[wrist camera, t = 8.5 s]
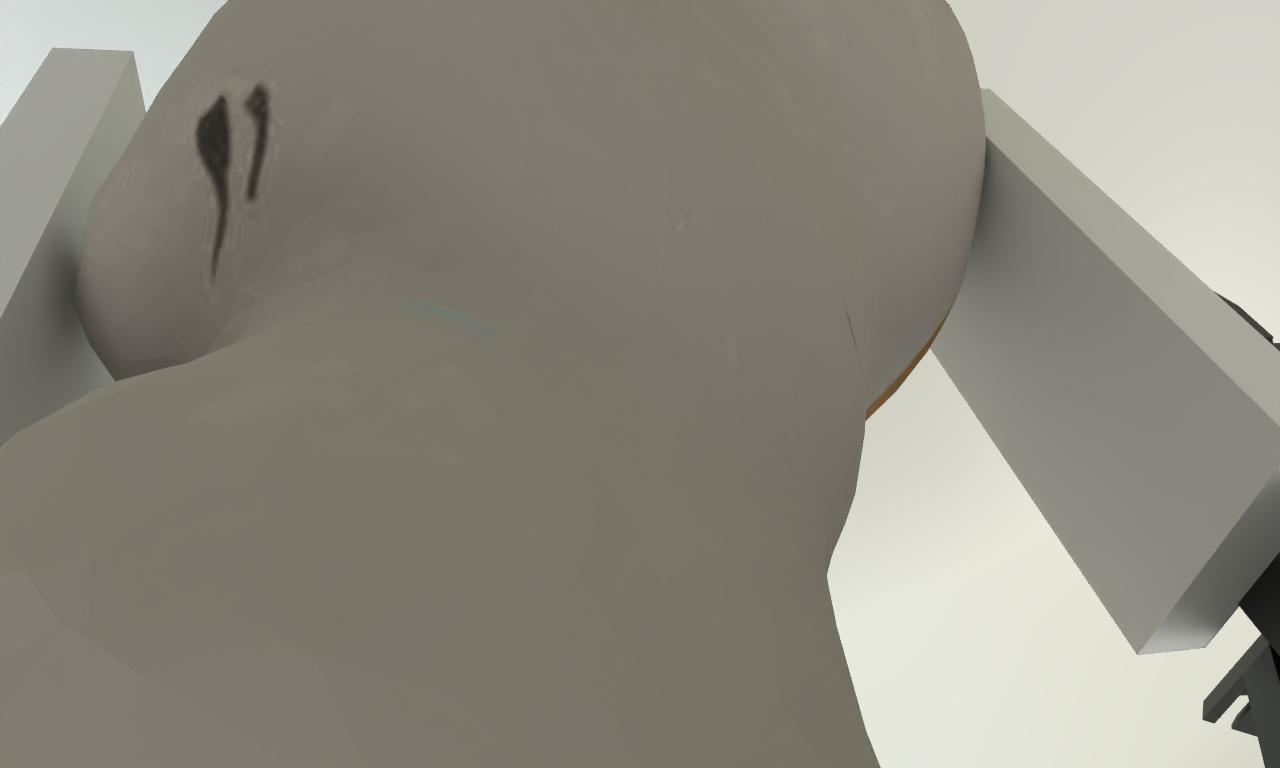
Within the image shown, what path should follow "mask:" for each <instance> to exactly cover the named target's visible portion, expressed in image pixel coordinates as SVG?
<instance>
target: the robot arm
mask: <svg viewBox="0 0 1280 768" xmlns="http://www.w3.org/2000/svg"><path fill="white" fill-rule="evenodd" d="M980 91H981V97H982V104H983V111H984V117H985V136H986V155H985V173H984V179H983V186H982V192H981V198H980V205H979V211H978V217H977V222H976V227H975V232H974V237H973V243H972V248H971V252H970V256H969V260H968V264H967V268H966V271H965V275H964V279H963V283H962V286H961V288H960V291H959V293H958V295H957V297H956V299H955V302H954V304H953V306H952V308H951V310H950V313H949V315H948V317H947V318H946V320H945V322H944V324H943V326H942V328H941V330H940V331H939V333H938V335H937V336H936V338H935V340H934V341H933V343H932V345H931V346H930V349H931V350H932V351H933V353H934V355H935V356H936V357H937V359H938V360H939V362H940V363H941V365H942V366H943V368H944V369H945V371H946V372H947V374H948V375H949V377H950V378H951V380H952V381H953V382H954V384H955V386H956V387H957V388H958V390H959V392H960V393H961V395H962V396H963V397H964V399H965V400H966V402H967V403H968V405H969V406H970V408H971V409H972V411H973V412H974V414H975V415H976V417H977V418H978V420H979V421H980V423H981V424H982V426H983V427H984V429H985V430H986V432H987V433H988V434H989V436H990V437H991V439H992V440H993V442H994V443H995V445H996V446H997V448H998V449H999V451H1000V452H1001V454H1002V455H1003V457H1004V458H1005V460H1006V461H1007V463H1008V464H1009V465H1010V467H1011V469H1012V470H1013V472H1014V473H1015V474H1016V476H1017V477H1018V479H1019V480H1020V482H1021V483H1022V485H1023V486H1024V488H1025V489H1026V491H1027V492H1028V494H1029V495H1030V497H1031V498H1032V500H1033V501H1034V503H1035V504H1036V506H1037V507H1038V509H1039V510H1040V512H1041V513H1042V515H1043V516H1044V517H1045V519H1046V520H1047V522H1048V523H1049V525H1050V526H1051V528H1052V529H1053V531H1054V532H1055V534H1056V535H1057V537H1058V538H1059V540H1060V541H1061V543H1062V544H1063V546H1064V547H1065V549H1066V550H1067V552H1068V553H1069V555H1070V556H1071V557H1072V559H1073V560H1074V562H1075V563H1076V565H1077V566H1078V568H1079V569H1080V571H1081V572H1082V574H1083V575H1084V577H1085V578H1086V580H1087V581H1088V583H1089V584H1090V586H1091V587H1092V589H1093V590H1094V592H1095V593H1096V595H1097V596H1098V597H1099V599H1100V600H1101V602H1102V603H1103V605H1104V606H1105V608H1106V609H1107V611H1108V612H1109V614H1110V615H1111V617H1112V618H1113V620H1114V621H1115V623H1116V624H1117V626H1118V627H1119V629H1120V630H1121V632H1122V633H1123V634H1124V636H1125V637H1126V639H1127V640H1128V642H1129V643H1130V645H1131V646H1132V648H1133V649H1134V651H1135V652H1136V654H1137V655H1142V654H1151V653H1161V652H1170V651H1180V650H1189V649H1198V648H1205V647H1206V646H1207V645H1208V644H1209V643H1210V641H1211V640H1212V639H1213V638H1214V636H1215V635H1216V634H1217V633H1218V632H1219V630H1220V629H1221V628H1222V627H1223V626H1224V624H1225V623H1226V622H1227V621H1228V619H1229V618H1230V617H1231V616H1232V614H1233V613H1234V612H1235V611H1236V610H1237V608H1238V607H1239V606H1240V607H1241V608H1242V610H1243V611H1244V612H1245V614H1246V615H1247V616H1248V617H1249V619H1250V620H1251V621H1252V622H1253V624H1254V625H1255V626H1256V627H1257V628H1258V630H1259V631H1260V632H1261V635H1260V636H1259V638H1258V639H1257V640H1256V641H1255V642H1254V643H1253V645H1252V646H1251V647H1250V648H1249V649H1248V650H1247V651H1246V653H1245V654H1244V655H1243V656H1242V657H1241V658H1240V660H1239V661H1238V662H1237V663H1236V664H1235V666H1234V667H1233V668H1232V669H1231V670H1230V671H1229V672H1228V673H1227V675H1226V676H1225V677H1224V678H1223V679H1222V680H1221V681H1220V683H1219V684H1218V685H1217V686H1216V687H1215V688H1214V690H1213V691H1212V692H1211V693H1210V694H1209V695H1208V697H1207V698H1206V699H1205V700H1204V703H1203V720H1205V721H1208V722H1212V723H1215V722H1216V721H1217V720H1218V719H1219V718H1220V717H1221V716H1222V714H1223V713H1224V712H1225V711H1226V710H1227V709H1228V708H1229V707H1230V706H1231V704H1232V703H1233V702H1234V701H1235V700H1236V699H1237V698H1238V697H1239V696H1240V695H1248V698H1249V703H1247V705H1246V706H1245V707H1244V708H1243V709H1242V710H1241V711H1240V712H1239V713H1238V714H1237V716H1236V718H1235V720H1234V721H1233V723H1232V729H1234V730H1238V731H1241V732H1244V733H1247V734H1251V735H1254V736H1257V737H1258V740H1259V744H1260V748H1261V753H1262V757H1263V761H1264V765H1265V768H1280V343H1273V340H1272V339H1273V336H1272V335H1270V334H1269V333H1268V332H1267V331H1266V330H1265V329H1264V328H1263V327H1261V326H1260V325H1259V324H1258V323H1257V322H1256V321H1255V320H1254V319H1252V318H1251V317H1250V316H1249V315H1248V314H1247V313H1246V312H1245V311H1244V310H1243V309H1241V308H1240V307H1239V306H1238V305H1236V304H1234V303H1233V302H1231V301H1229V300H1227V299H1226V298H1224V297H1222V296H1220V295H1219V294H1217V293H1216V292H1214V291H1212V290H1211V289H1210V288H1209V287H1208V286H1207V285H1206V284H1205V283H1203V282H1202V281H1201V280H1200V279H1199V278H1198V277H1197V276H1196V275H1195V274H1194V273H1192V272H1191V271H1190V270H1189V269H1188V268H1187V267H1186V266H1185V265H1184V264H1183V263H1181V262H1180V261H1179V260H1178V259H1177V258H1176V257H1175V256H1174V255H1173V254H1171V253H1170V252H1169V251H1168V250H1167V249H1166V248H1165V247H1164V246H1162V244H1160V243H1159V242H1158V241H1157V240H1156V239H1155V238H1154V237H1152V235H1150V234H1149V233H1148V232H1147V231H1146V230H1145V229H1144V228H1143V227H1142V226H1140V225H1139V224H1138V223H1137V222H1136V221H1135V220H1134V219H1133V218H1132V217H1131V216H1129V215H1128V214H1127V213H1126V212H1125V211H1124V210H1123V209H1122V208H1121V207H1119V206H1118V205H1117V204H1116V203H1115V202H1114V201H1113V200H1112V199H1111V198H1109V197H1108V196H1107V195H1106V194H1105V193H1104V192H1103V191H1102V190H1101V189H1100V188H1099V187H1097V186H1096V185H1095V184H1094V183H1093V182H1092V181H1091V180H1090V179H1089V178H1088V177H1086V176H1085V175H1084V174H1083V173H1082V172H1081V171H1080V170H1079V169H1078V168H1076V167H1075V166H1074V165H1073V164H1072V163H1071V162H1070V161H1069V160H1068V159H1066V158H1065V157H1064V156H1063V155H1062V154H1061V153H1060V152H1059V151H1058V150H1057V149H1055V148H1054V147H1053V146H1052V145H1051V144H1050V143H1049V142H1048V141H1046V140H1045V139H1044V138H1043V137H1042V136H1041V135H1040V134H1039V133H1038V132H1037V131H1035V130H1034V129H1033V128H1032V127H1031V126H1030V125H1029V124H1028V123H1026V121H1025V120H1023V119H1022V118H1021V117H1020V116H1019V115H1018V114H1017V113H1016V112H1015V111H1013V110H1012V109H1011V108H1010V107H1009V106H1008V105H1007V104H1006V103H1005V102H1004V101H1002V100H1001V99H1000V98H999V97H998V96H997V95H996V94H995V93H994V92H992V91H991V90H990V89H981V88H980ZM145 115H146V111H145V106H144V101H143V96H142V92H141V87H140V82H139V77H138V72H137V67H136V63H135V58H134V53H133V51H115V50H93V49H70V48H52V50H51V51H50V53H49V54H48V56H47V57H46V59H45V60H44V62H43V63H42V65H41V66H40V68H39V69H38V71H37V72H36V74H35V75H34V77H33V78H32V80H31V81H30V83H29V84H28V86H27V87H26V89H25V91H24V92H23V94H22V95H21V97H20V98H19V100H18V101H17V103H16V104H15V106H14V107H13V109H12V110H11V112H10V113H9V115H8V116H7V118H6V119H5V121H4V122H3V124H2V125H1V127H0V446H2V445H3V444H4V443H5V442H7V441H8V440H9V439H10V438H12V437H13V436H14V435H15V434H16V433H18V432H19V431H21V430H23V429H25V428H26V427H28V426H30V425H32V424H34V423H36V422H37V421H39V420H41V419H43V418H45V417H47V416H48V415H50V414H52V413H54V412H56V411H58V410H60V409H61V408H63V407H65V406H67V405H69V404H71V403H72V402H74V401H76V400H78V399H80V398H82V397H83V396H85V395H87V394H89V393H91V392H93V391H94V390H96V389H98V388H100V387H102V386H104V385H105V384H108V383H112V382H115V380H114V379H113V378H112V376H111V375H110V373H109V372H108V370H107V369H106V368H105V366H104V365H103V363H102V362H101V360H100V359H99V357H98V356H97V355H96V353H95V352H94V350H93V349H92V347H91V346H90V344H89V341H88V339H87V337H86V335H85V332H84V330H83V328H82V325H81V323H80V321H79V318H78V316H77V314H76V310H75V305H74V301H73V297H74V291H75V285H76V279H77V273H78V267H79V261H80V255H81V250H82V244H83V238H84V232H85V226H86V220H87V214H88V210H89V208H90V205H91V203H92V201H93V198H94V196H95V194H96V192H97V189H98V188H99V187H100V185H101V184H102V182H103V181H104V180H105V178H106V177H107V175H108V174H109V173H110V171H111V170H112V168H113V167H114V166H115V164H116V163H117V161H118V160H119V158H120V157H121V155H122V154H123V152H124V150H125V149H126V147H127V145H128V144H129V142H130V140H131V139H132V137H133V136H134V134H135V132H136V131H137V129H138V127H139V125H140V124H141V122H142V120H143V119H144V117H145Z"/></svg>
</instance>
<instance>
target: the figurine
mask: <svg viewBox="0 0 1280 768" xmlns="http://www.w3.org/2000/svg"><path fill="white" fill-rule="evenodd" d="M985 155H986V136H985V117H984V111H983V104H982V97H981V91H980V86H979V82H978V78H977V73H976V69H975V64H974V60H973V56H972V53H971V50H970V48H969V45H968V42H967V39H966V36H965V33H964V31H963V29H962V27H961V26H960V24H959V22H958V20H957V18H956V16H955V14H954V13H953V11H952V9H951V7H950V5H949V4H948V3H947V2H946V1H945V0H229V1H227V2H226V3H225V4H224V5H223V6H222V7H221V8H220V9H219V10H218V11H217V12H216V13H215V14H214V16H213V17H212V19H211V20H210V21H209V23H208V24H207V26H206V27H205V29H204V30H203V31H202V33H201V34H200V36H199V37H198V39H197V40H196V41H195V43H194V44H193V46H192V47H191V49H190V50H189V51H188V53H187V54H186V56H185V57H184V58H183V60H182V61H181V62H180V64H179V65H178V66H177V68H176V69H175V71H174V72H173V73H172V75H171V76H170V77H169V79H168V80H167V81H166V83H165V84H164V86H163V87H162V88H161V90H160V91H159V93H158V94H157V96H156V98H155V100H154V101H153V103H152V105H151V106H150V108H149V110H148V112H147V113H146V115H145V117H144V119H143V120H142V122H141V124H140V125H139V127H138V129H137V131H136V132H135V134H134V136H133V137H132V139H131V140H130V142H129V144H128V145H127V147H126V149H125V150H124V152H123V154H122V155H121V157H120V158H119V160H118V161H117V163H116V164H115V166H114V167H113V168H112V170H111V171H110V173H109V174H108V175H107V177H106V178H105V180H104V181H103V182H102V184H101V185H100V187H99V188H98V189H97V192H96V194H95V196H94V198H93V201H92V203H91V205H90V208H89V210H88V214H87V220H86V226H85V232H84V238H83V244H82V250H81V255H80V261H79V267H78V273H77V279H76V285H75V291H74V297H73V301H74V305H75V310H76V314H77V316H78V318H79V321H80V323H81V325H82V328H83V330H84V332H85V335H86V337H87V339H88V341H89V344H90V346H91V347H92V349H93V350H94V352H95V353H96V355H97V356H98V357H99V359H100V360H101V362H102V363H103V365H104V366H105V368H106V369H107V370H108V372H109V373H110V375H111V376H112V378H113V379H114V380H115V382H112V383H108V384H105V385H104V386H102V387H100V388H98V389H96V390H94V391H93V392H91V393H89V394H87V395H85V396H83V397H82V398H80V399H78V400H76V401H74V402H72V403H71V404H69V405H67V406H65V407H63V408H61V409H60V410H58V411H56V412H54V413H52V414H50V415H48V416H47V417H45V418H43V419H41V420H39V421H37V422H36V423H34V424H32V425H30V426H28V427H26V428H25V429H23V430H21V431H19V432H18V433H16V434H15V435H14V436H13V437H12V438H10V439H9V440H8V441H7V442H5V443H4V444H3V445H2V446H0V768H880V765H879V763H878V760H877V758H876V755H875V753H874V750H873V748H872V745H871V742H870V740H869V737H868V735H867V732H866V729H865V726H864V722H863V719H862V715H861V711H860V708H859V704H858V701H857V697H856V694H855V690H854V687H853V684H852V679H851V676H850V672H849V669H848V665H847V662H846V658H845V655H844V651H843V647H842V644H841V640H840V637H839V633H838V630H837V626H836V621H835V616H834V611H833V606H832V601H831V596H830V592H829V586H828V581H827V572H828V568H829V564H830V560H831V557H832V554H833V551H834V548H835V546H836V544H837V541H838V539H839V537H840V534H841V532H842V530H843V527H844V525H845V522H846V519H847V516H848V513H849V510H850V507H851V504H852V502H853V499H854V496H855V492H856V485H857V479H858V473H859V465H860V460H861V453H862V447H863V440H864V433H865V421H866V420H867V419H868V418H869V417H870V416H871V415H872V414H873V413H874V412H875V411H876V410H877V409H878V408H879V407H880V406H882V405H883V404H884V403H885V402H886V401H887V400H888V399H889V398H890V397H891V396H892V395H893V394H894V393H895V392H896V391H897V389H898V388H899V387H900V386H901V384H902V383H903V382H904V381H905V379H906V378H907V376H909V374H910V373H911V372H912V370H913V369H914V368H915V367H916V365H917V364H918V363H919V361H920V360H921V359H922V358H923V356H924V355H925V354H926V352H927V351H928V350H929V348H930V346H931V345H932V343H933V341H934V340H935V338H936V336H937V335H938V333H939V331H940V330H941V328H942V326H943V324H944V322H945V320H946V318H947V317H948V315H949V313H950V310H951V308H952V306H953V304H954V302H955V299H956V297H957V295H958V293H959V291H960V288H961V286H962V283H963V279H964V275H965V271H966V268H967V264H968V260H969V256H970V252H971V248H972V243H973V237H974V232H975V227H976V222H977V217H978V211H979V205H980V198H981V192H982V186H983V179H984V173H985Z"/></svg>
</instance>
